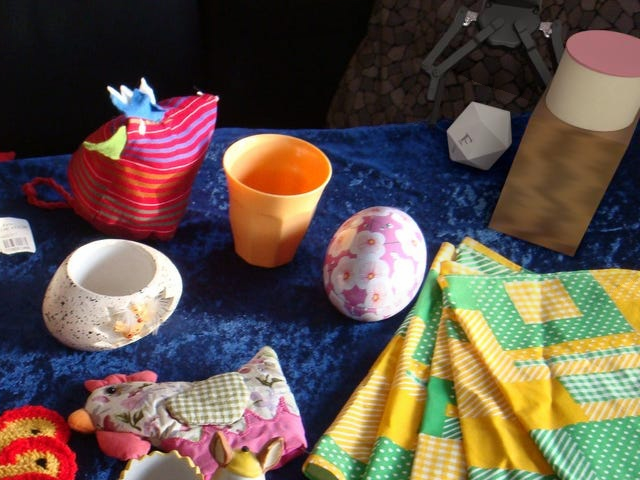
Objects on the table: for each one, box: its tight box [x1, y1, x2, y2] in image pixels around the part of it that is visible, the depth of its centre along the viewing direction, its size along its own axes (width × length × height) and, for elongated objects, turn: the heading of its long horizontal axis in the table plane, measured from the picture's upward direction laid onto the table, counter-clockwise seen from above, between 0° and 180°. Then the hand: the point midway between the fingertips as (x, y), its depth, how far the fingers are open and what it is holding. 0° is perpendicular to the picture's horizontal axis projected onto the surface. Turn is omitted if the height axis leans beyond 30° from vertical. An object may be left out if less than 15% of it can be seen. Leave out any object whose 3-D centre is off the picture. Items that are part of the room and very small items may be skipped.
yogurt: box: [546, 29, 640, 131], centre depth 97 cm, size 10×10×7 cm
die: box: [446, 101, 513, 171], centre depth 118 cm, size 8×9×10 cm
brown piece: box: [487, 75, 640, 257], centre depth 105 cm, size 11×11×17 cm
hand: (481, 134), depth 116 cm, fingers open, 13 cm apart
